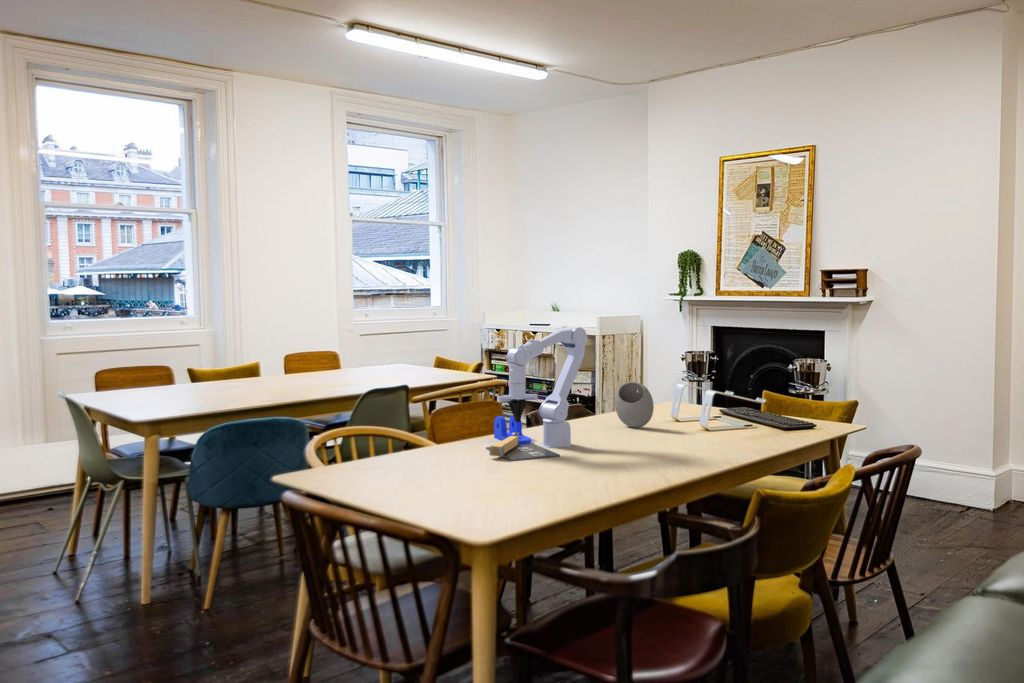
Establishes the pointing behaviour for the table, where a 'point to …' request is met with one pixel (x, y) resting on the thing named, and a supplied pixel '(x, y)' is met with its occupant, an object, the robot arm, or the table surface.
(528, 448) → the panel
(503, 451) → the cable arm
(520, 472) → the table surface
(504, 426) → the bracket
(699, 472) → the table surface
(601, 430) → the table surface
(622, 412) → the planter
